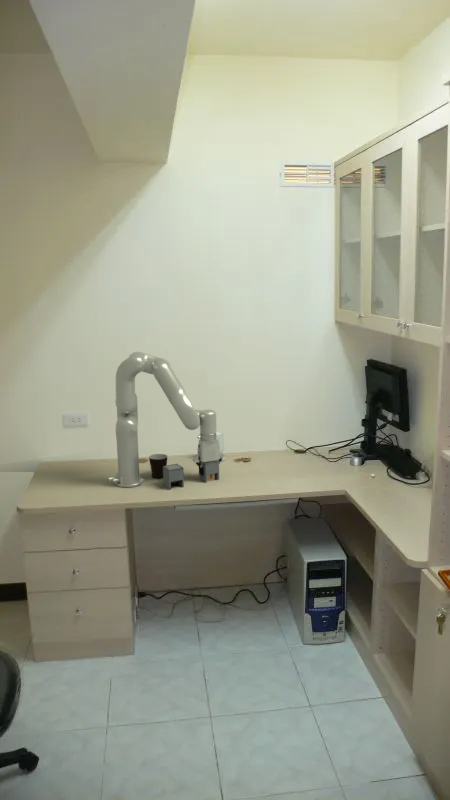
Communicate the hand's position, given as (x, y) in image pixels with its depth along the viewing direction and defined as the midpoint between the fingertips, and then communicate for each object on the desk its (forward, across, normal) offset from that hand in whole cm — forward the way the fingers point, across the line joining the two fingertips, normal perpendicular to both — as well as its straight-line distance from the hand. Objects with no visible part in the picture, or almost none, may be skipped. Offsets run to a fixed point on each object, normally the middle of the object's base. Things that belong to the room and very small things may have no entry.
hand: (209, 473), depth 271 cm
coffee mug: (+3, -18, +16) cm, 24 cm away
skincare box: (+3, +16, +24) cm, 29 cm away
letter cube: (+3, 0, 0) cm, 3 cm away
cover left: (+3, -18, 0) cm, 18 cm away
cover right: (+3, 0, 0) cm, 3 cm away
